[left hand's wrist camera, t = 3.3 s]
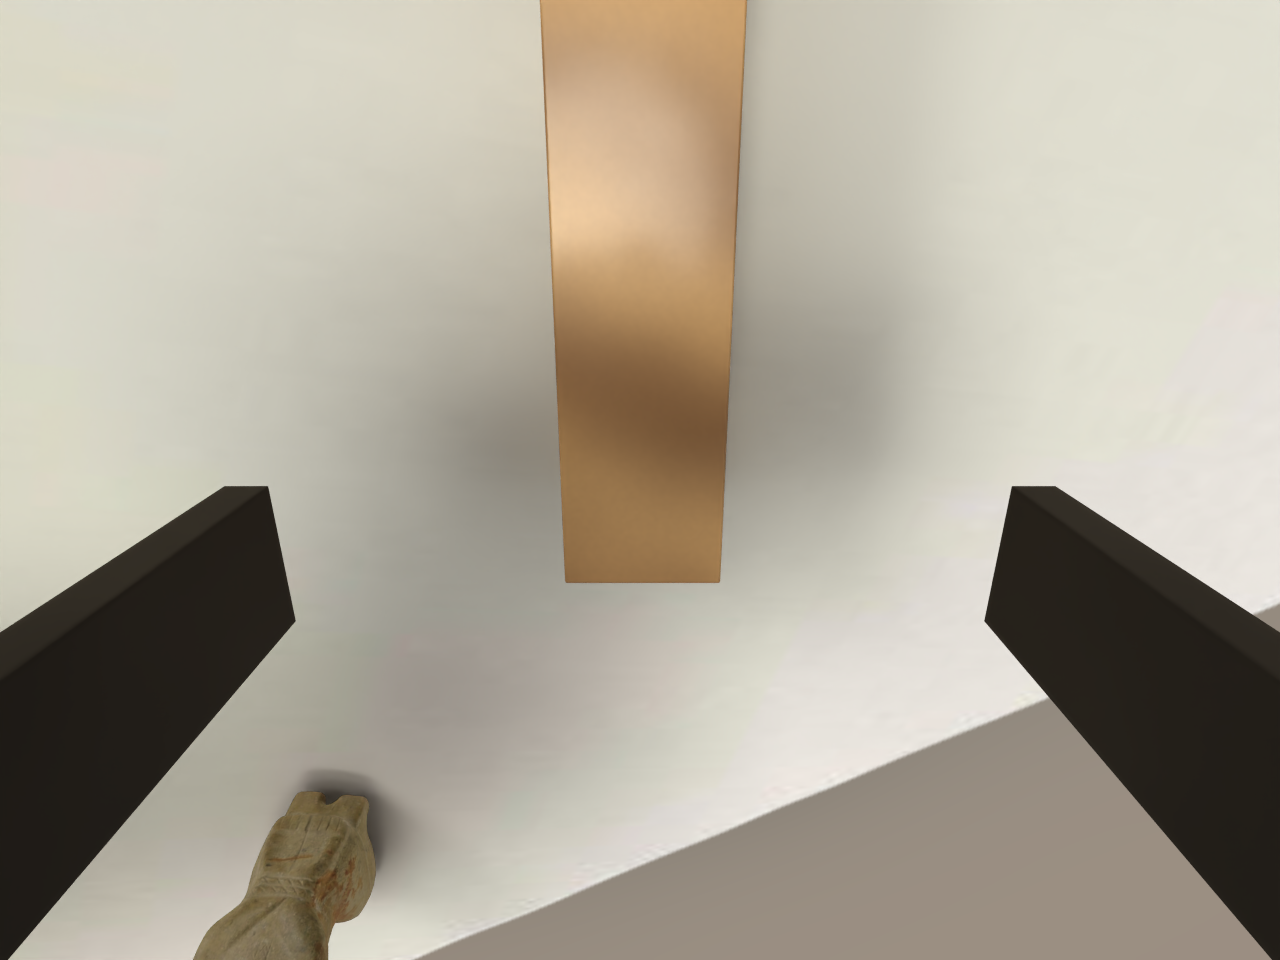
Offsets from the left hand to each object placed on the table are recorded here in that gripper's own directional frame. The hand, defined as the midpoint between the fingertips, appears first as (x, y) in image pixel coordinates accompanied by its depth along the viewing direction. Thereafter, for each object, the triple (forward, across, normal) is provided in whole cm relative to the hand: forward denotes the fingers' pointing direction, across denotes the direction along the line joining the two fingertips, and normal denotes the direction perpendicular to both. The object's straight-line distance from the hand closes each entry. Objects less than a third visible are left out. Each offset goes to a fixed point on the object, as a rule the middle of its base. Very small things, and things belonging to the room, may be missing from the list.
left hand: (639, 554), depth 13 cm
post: (+16, 0, -30) cm, 34 cm away
